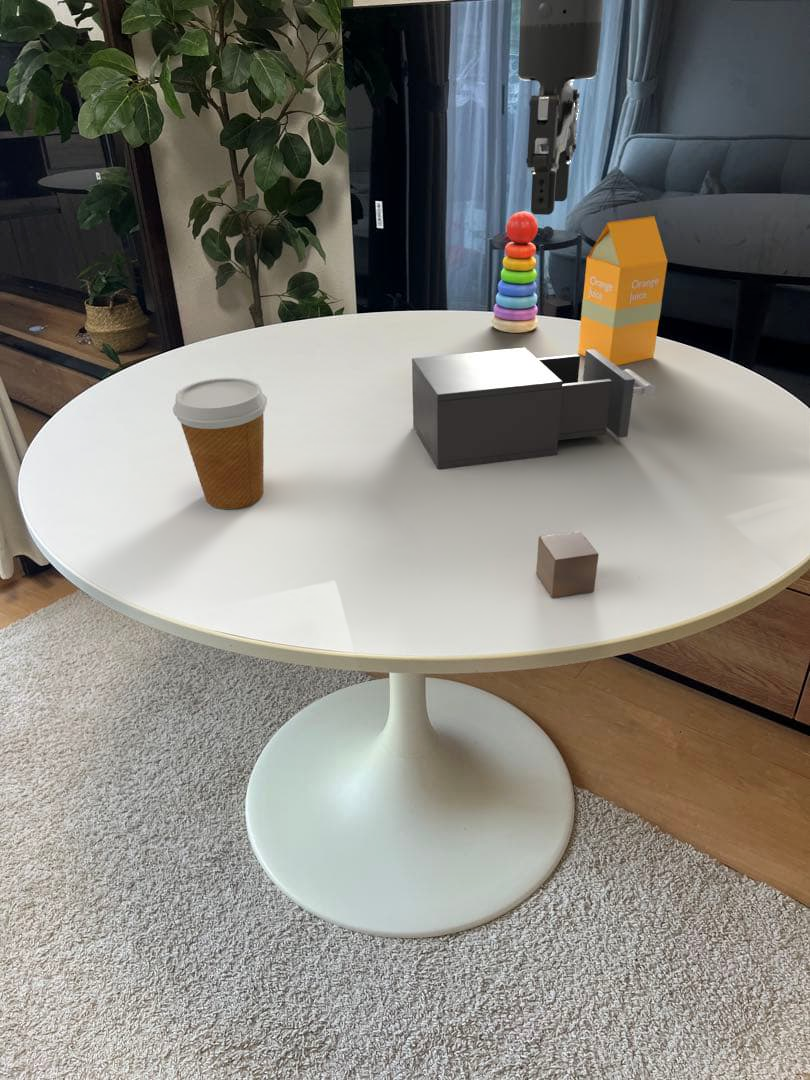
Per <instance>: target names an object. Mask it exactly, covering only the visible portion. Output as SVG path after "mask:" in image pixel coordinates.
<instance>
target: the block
mask: <svg viewBox="0 0 810 1080" xmlns="http://www.w3.org/2000/svg"><path fill="white" fill-rule="evenodd" d="M537 543H538V544H537V554H536V555H537V556H536V570H535V574H536V576H537V577H538V579H539V580H540V582H541V583H542V585H543V586H544V588H545V590H546V592H547V593H548V594H549V596H550V597H551V599H555V598H561V597H569V596H574V595H580V594H587V593H593V592H595V587H596V579H597V572H598V562H599V557H600V556H599V553H598V551H597V550H596V548H594V546H593V545H592V543H590V541H589V540H588V539H587V538H586V536H585V535H584V533H583V532H582V531H581V530H579V531H572V532H564V533H558V534H557V533H556V534H551V535H549V534H548V535H542V536H539V537H538V542H537Z"/></svg>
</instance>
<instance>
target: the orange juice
mask: <svg viewBox="0 0 810 1080" xmlns="http://www.w3.org/2000/svg"><path fill="white" fill-rule="evenodd" d="M655 217H656V216H655V215H651V216H644V217H637V218H630V219H629V218H628V219H622V220H621V219H620V220H613V221H608V222H607V223H606V225H605V226H604V228H603V230H602V232H601V233H600V235H599V237H598V238H597V240H596V242H595V244H594V245H593V247H592V249H591V250H590V251H589V254H588V255H587V257H586V263H585V274H584V285H583V297H582V302H581V303H582V304H581V314H580V316H581V317H580V328H579V329H580V330H579V339H578V351H577V354H578V355H580V356H582V357H585V354H586V350H592V349H595V350H596V351H597V352H599V353H600V354H601V355H603V356H604V357H605V358H607V359H608V360H609V361H611V362H612V363H614V364H615V365H616V366H621V365H625V364H630V363H635V362H639V361H640V362H641V361H644V360H648V359H653V358H654V356H655V350H656V342H657V336H658V330H659V329H658V327H659V322H660V319H661V318H660V317H661V311H662V304H663V295H664V287H665V281H666V274H667V267H668V259H667V255H666V251H665V248H664V245H663V242H662V239H661V234H660V231H659V227H658V224H657V221H656V218H655Z"/></svg>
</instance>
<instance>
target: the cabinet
mask: <svg viewBox="0 0 810 1080" xmlns="http://www.w3.org/2000/svg"><path fill="white" fill-rule="evenodd" d="M537 358H538V357H536V356H535V355H534V354H533V353H532V352H530V351H529V350H528V349H527V348H526V347H517V348H506V349H496V350H487V351H486V350H485V351H474V352H463V353H454V354H445V355H434V356H422V357H414V358H411V370H412V371H411V375H412V376H411V379H412V380H411V381H412V383H411V384H412V385H411V386H412V427H413V429H414V431H415V432H416V434H417V436H418V438H419V439H420V441H421V443H422V445H423V446H424V448H425V450H426V451H427V453H428V455H429V457H430V458H431V460H432V462H433V464H434V466H435V467H436V469H437V470H443V469H451V468H459V467H468V466H474V465H484V464H490V463H491V464H492V463H500V462H508V461H516V460H523V459H524V460H525V459H532V458H541V457H542V458H543V457H549V456H557V455H558V454H557V453H558V444H559V440H558V432H559V420H560V409H561V397H562V384H563V382H562V381H561V380H560V379H559V378H558V377H557V376H556V375H555V374H554V373H552V372H551V371H550V370H549V369H548V368H547V367H546V366H545V365H544V364H542V363H541V362H540V361H539V360H538V359H537Z"/></svg>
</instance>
